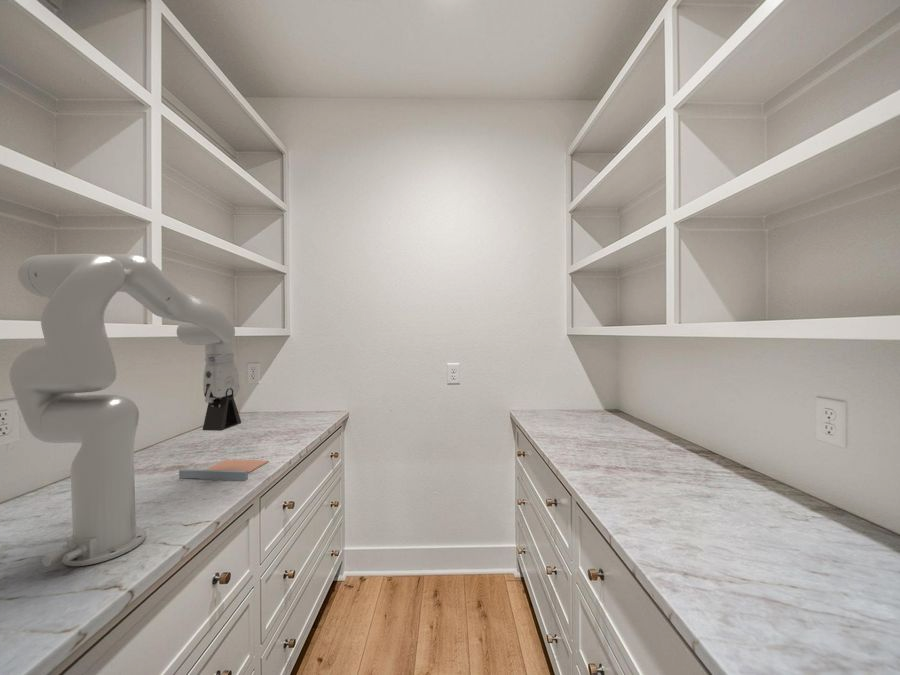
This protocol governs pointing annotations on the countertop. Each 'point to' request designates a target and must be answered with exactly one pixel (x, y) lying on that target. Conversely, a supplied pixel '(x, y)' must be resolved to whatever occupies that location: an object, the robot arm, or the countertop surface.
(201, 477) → the acrylic wall
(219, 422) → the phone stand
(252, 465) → the mat
